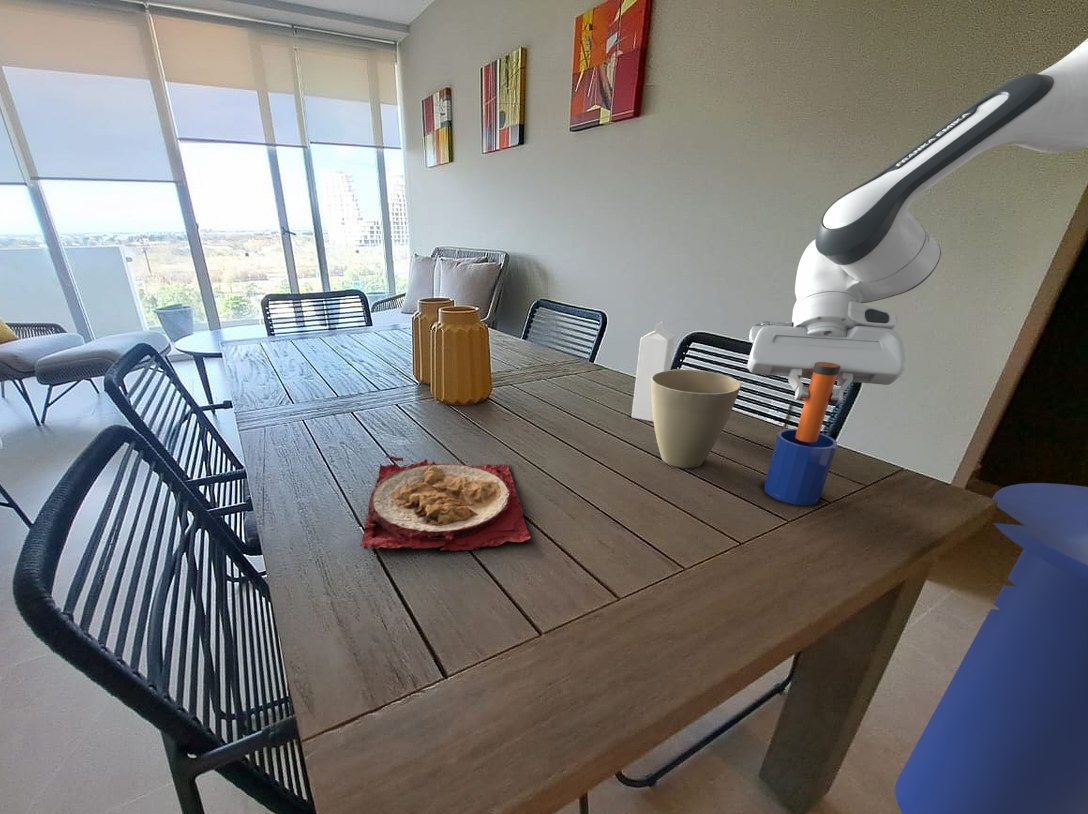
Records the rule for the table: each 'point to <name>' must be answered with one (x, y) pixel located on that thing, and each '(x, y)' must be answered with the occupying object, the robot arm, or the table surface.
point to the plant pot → (690, 413)
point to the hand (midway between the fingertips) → (818, 400)
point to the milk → (651, 368)
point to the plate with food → (443, 507)
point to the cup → (799, 468)
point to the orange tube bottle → (817, 401)
